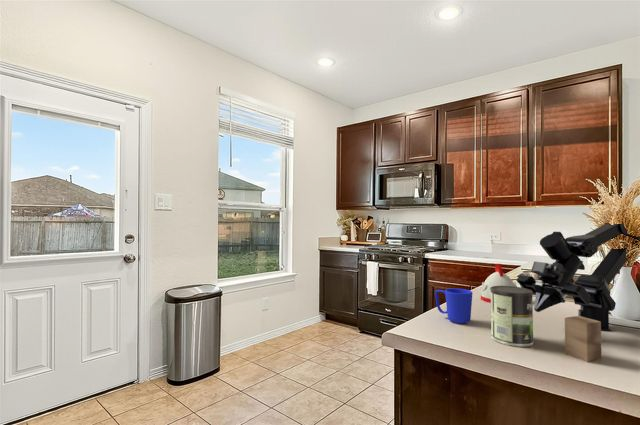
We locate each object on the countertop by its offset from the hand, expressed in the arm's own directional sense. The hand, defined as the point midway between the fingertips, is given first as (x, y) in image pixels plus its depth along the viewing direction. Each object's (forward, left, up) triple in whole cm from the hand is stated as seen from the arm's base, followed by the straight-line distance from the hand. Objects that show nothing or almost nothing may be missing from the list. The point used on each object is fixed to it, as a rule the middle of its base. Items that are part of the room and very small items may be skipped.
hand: (536, 310), depth 94 cm
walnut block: (-8, +12, -7) cm, 16 cm away
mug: (+23, -5, -7) cm, 24 cm away
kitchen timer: (+8, -42, -7) cm, 44 cm away
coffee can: (+7, +7, -7) cm, 12 cm away
